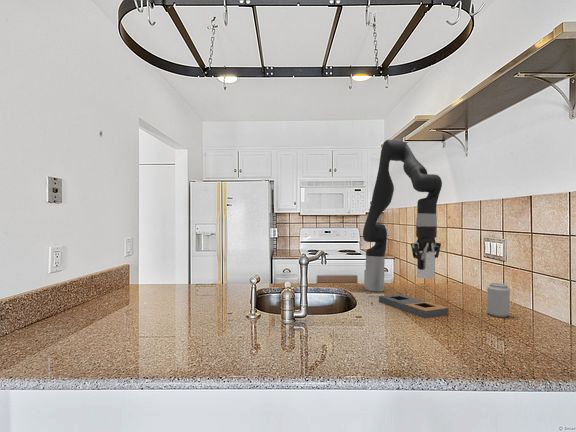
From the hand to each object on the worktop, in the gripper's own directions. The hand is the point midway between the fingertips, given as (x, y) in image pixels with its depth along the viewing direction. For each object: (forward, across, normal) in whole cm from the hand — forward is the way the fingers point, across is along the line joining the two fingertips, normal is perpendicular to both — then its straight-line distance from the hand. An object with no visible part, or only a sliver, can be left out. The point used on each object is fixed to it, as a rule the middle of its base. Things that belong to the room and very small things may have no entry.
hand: (425, 268), depth 141 cm
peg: (+3, 0, 0) cm, 3 cm away
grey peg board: (+17, 0, -7) cm, 18 cm away
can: (+17, -24, +14) cm, 32 cm away
